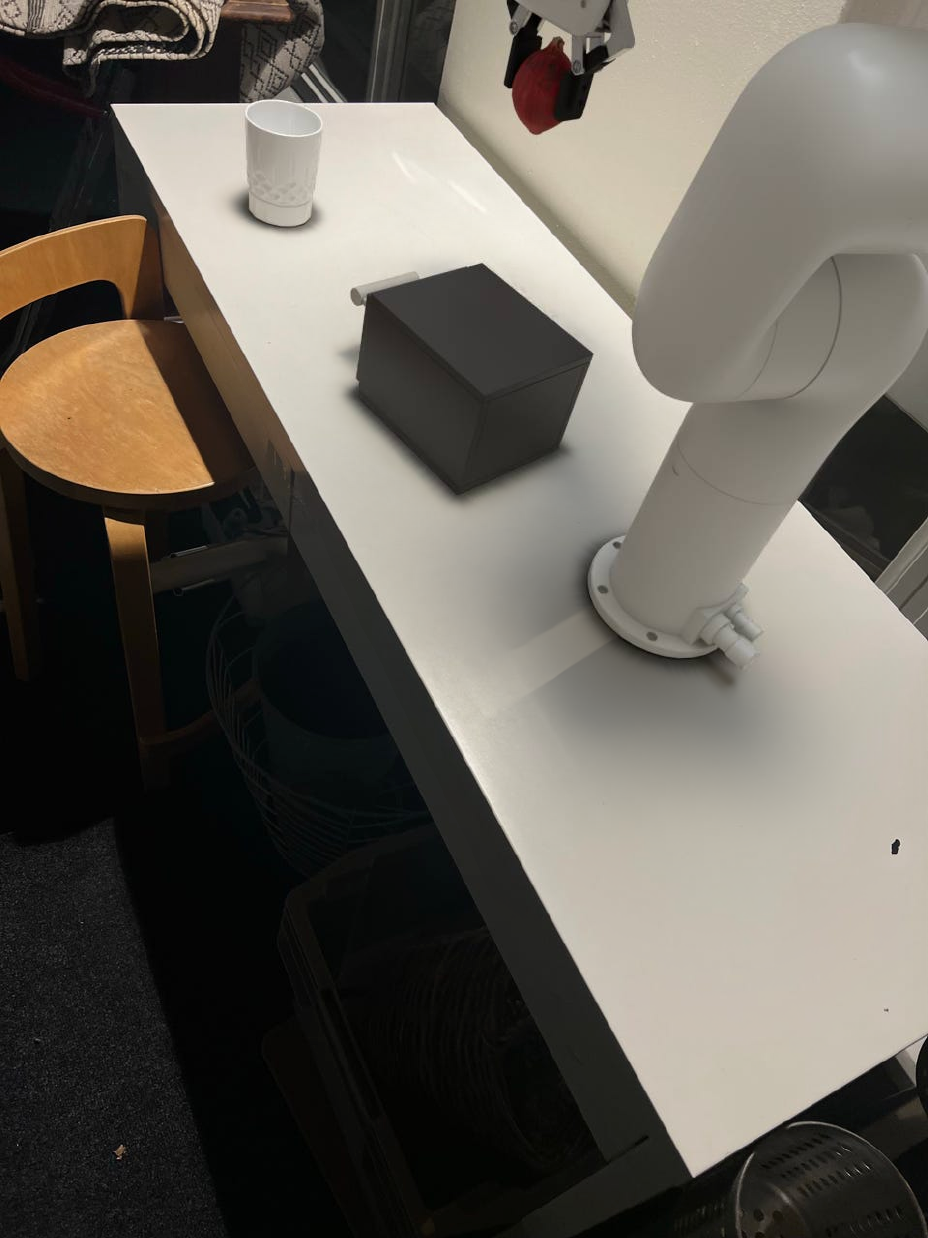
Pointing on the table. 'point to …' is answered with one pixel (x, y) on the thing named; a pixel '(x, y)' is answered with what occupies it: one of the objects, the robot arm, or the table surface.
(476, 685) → the table surface
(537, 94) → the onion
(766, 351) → the robot arm
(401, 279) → the drawer
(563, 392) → the dark grey box
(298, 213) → the white cup
